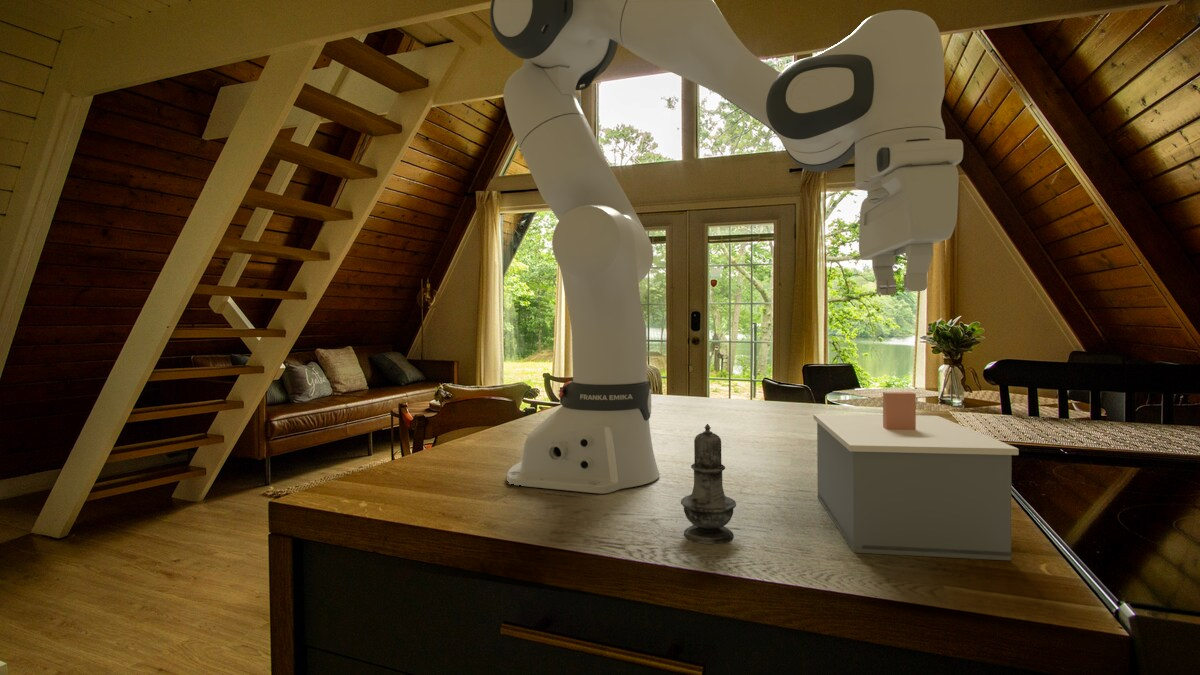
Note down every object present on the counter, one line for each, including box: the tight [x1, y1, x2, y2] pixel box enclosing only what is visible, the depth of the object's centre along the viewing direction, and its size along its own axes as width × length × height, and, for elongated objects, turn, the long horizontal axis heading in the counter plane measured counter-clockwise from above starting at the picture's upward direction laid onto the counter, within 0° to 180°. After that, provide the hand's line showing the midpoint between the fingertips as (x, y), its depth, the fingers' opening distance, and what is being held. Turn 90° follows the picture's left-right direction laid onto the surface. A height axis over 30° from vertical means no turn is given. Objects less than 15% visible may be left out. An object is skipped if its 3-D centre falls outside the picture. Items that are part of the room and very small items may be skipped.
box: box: [816, 422, 1013, 561], centre depth 65 cm, size 14×18×10 cm
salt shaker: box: [680, 423, 737, 545], centre depth 62 cm, size 6×6×12 cm
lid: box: [812, 391, 1020, 456], centre depth 64 cm, size 15×19×5 cm
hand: (899, 293), depth 64 cm, fingers open, 8 cm apart
